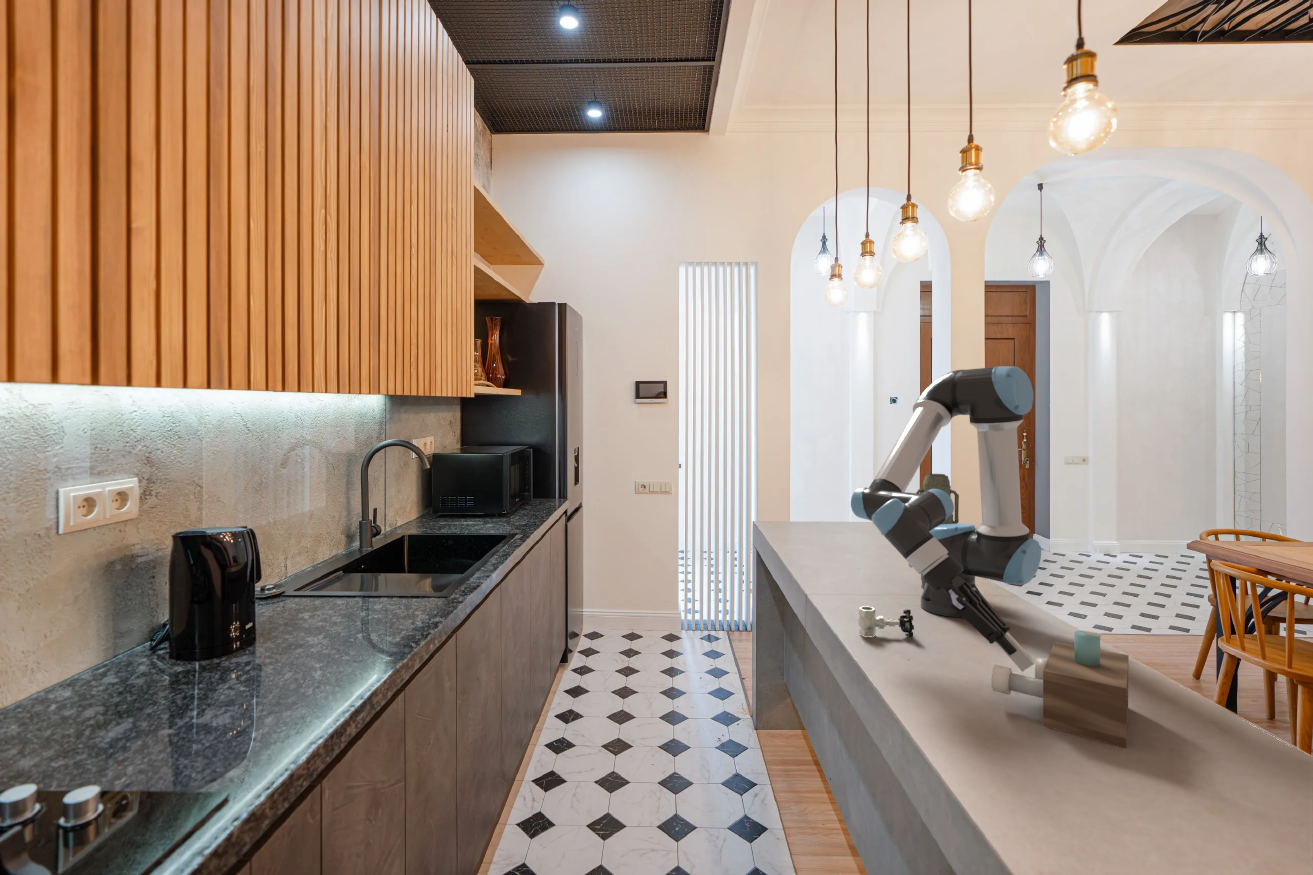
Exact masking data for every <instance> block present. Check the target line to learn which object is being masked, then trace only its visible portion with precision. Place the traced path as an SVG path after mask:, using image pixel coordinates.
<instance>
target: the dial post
mask: <svg viewBox="0 0 1313 875" xmlns="http://www.w3.org/2000/svg"><path fill="white" fill-rule="evenodd" d="M1101 637H1102V632H1100V631H1099V632H1098V631H1094V630H1087V629H1083V630H1074V645H1075V647H1074V661H1075V662H1076V663H1078V664H1080V665H1084V666H1088V667H1099V666H1100V650H1101Z"/></svg>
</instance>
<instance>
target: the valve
mask: <svg viewBox="0 0 1313 875" xmlns="http://www.w3.org/2000/svg"><path fill="white" fill-rule="evenodd" d="M911 610H912V609H907V608H906V609H903V611H902V613H903V614H904V615H900V616H899V618H898V619H897V620H895V618H888V619H886V618H884V616H883V615H878V616H876V608H874V607H871V606H860V607H859V609H858V615H859V616H858V619H857V623H858V626H859V628H858V629H859V630H858V632H859V634H861V635H864V636H872V637H873V636H874V635H875V634H876V632H877V631H876V628H878V629H879V630H884V629H885V627H890V628H891V627H893V628H894V627H896V626H898V627H899V628H900V630H901V631H902V632H903V633H905V637H906V636H909V637H908V638H911V637H912V638H913V637H914V632H913V630H915V626H914V624H913V621H914V616H913V615H912V612H911ZM859 634H858V635H859ZM861 635H860V636H861ZM876 635H877V634H876ZM876 635H875V636H876ZM875 636H874V637H875ZM874 637H873V638H874Z"/></svg>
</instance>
